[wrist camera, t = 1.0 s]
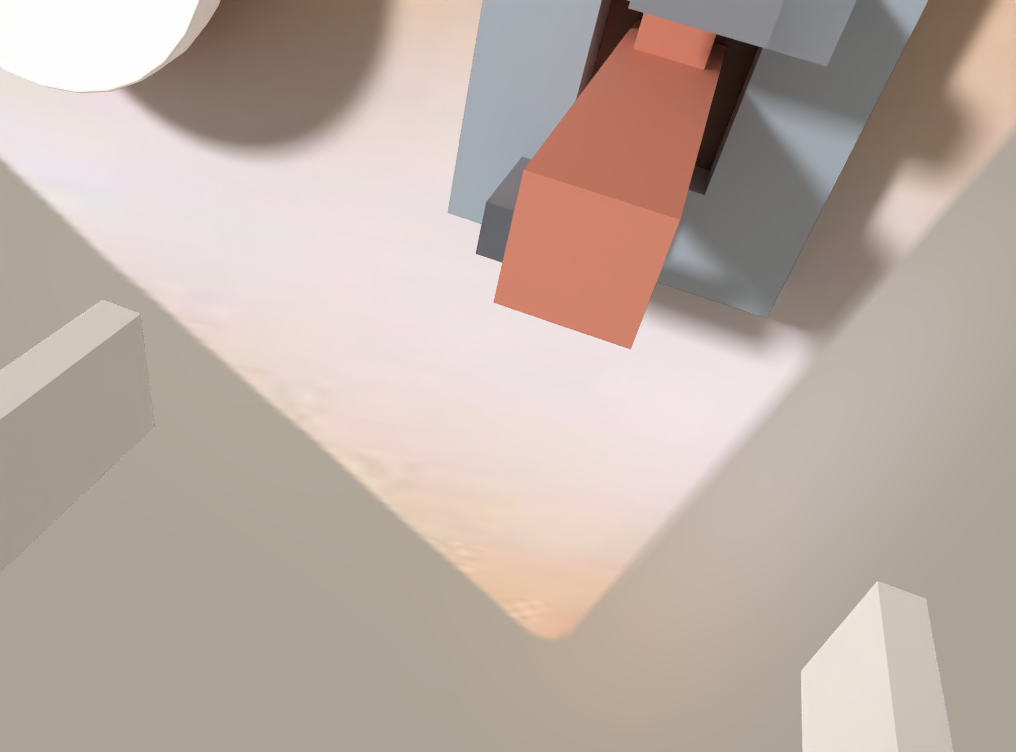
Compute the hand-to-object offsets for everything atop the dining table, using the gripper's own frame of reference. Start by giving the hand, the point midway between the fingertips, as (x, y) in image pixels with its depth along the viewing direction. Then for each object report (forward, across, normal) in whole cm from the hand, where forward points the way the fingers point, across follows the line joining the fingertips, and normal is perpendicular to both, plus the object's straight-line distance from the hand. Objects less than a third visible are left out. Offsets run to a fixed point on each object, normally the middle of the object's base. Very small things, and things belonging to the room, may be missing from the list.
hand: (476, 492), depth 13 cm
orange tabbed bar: (+26, 0, 0) cm, 26 cm away
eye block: (+26, 0, 0) cm, 26 cm away
